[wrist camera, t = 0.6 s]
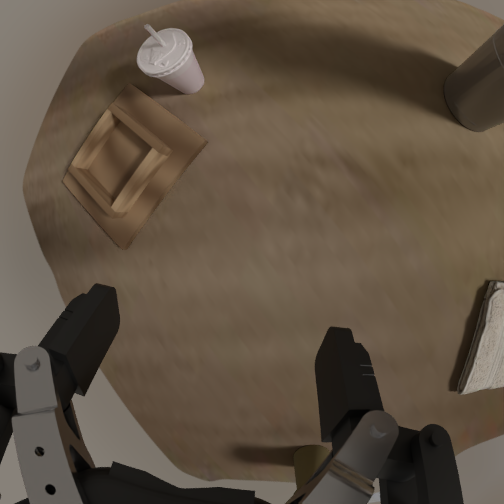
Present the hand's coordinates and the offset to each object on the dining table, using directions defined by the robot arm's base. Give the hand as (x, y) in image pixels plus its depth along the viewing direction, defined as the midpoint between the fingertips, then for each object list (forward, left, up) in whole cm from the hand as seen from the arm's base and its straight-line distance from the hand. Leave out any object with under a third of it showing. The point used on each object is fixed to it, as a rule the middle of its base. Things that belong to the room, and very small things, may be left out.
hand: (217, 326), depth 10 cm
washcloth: (-14, +35, -26) cm, 46 cm away
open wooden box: (+4, -23, -25) cm, 34 cm away
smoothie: (-10, -23, -26) cm, 36 cm away
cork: (+20, +27, -26) cm, 42 cm away
